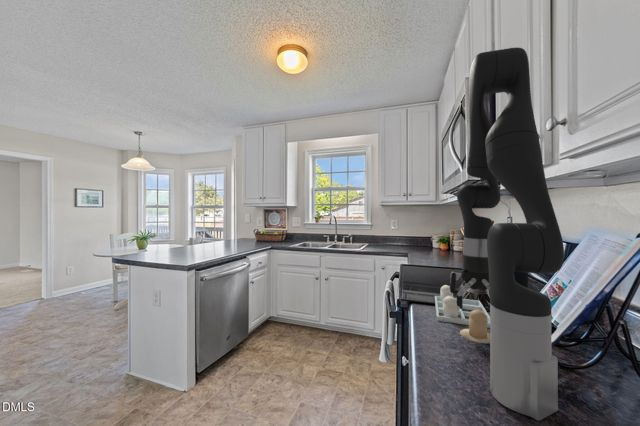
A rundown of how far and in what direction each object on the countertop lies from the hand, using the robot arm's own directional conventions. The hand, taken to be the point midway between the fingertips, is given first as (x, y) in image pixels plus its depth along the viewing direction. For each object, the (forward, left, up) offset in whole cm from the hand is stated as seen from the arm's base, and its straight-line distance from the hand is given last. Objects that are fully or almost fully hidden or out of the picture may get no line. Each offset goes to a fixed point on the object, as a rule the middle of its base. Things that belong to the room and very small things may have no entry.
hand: (477, 310), depth 75 cm
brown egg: (0, 0, -7) cm, 7 cm away
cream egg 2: (+12, -4, -7) cm, 14 cm away
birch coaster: (0, 0, -8) cm, 8 cm away
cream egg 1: (+23, -15, -7) cm, 28 cm away
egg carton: (+15, -12, -8) cm, 20 cm away
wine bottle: (+6, -29, -8) cm, 30 cm away
